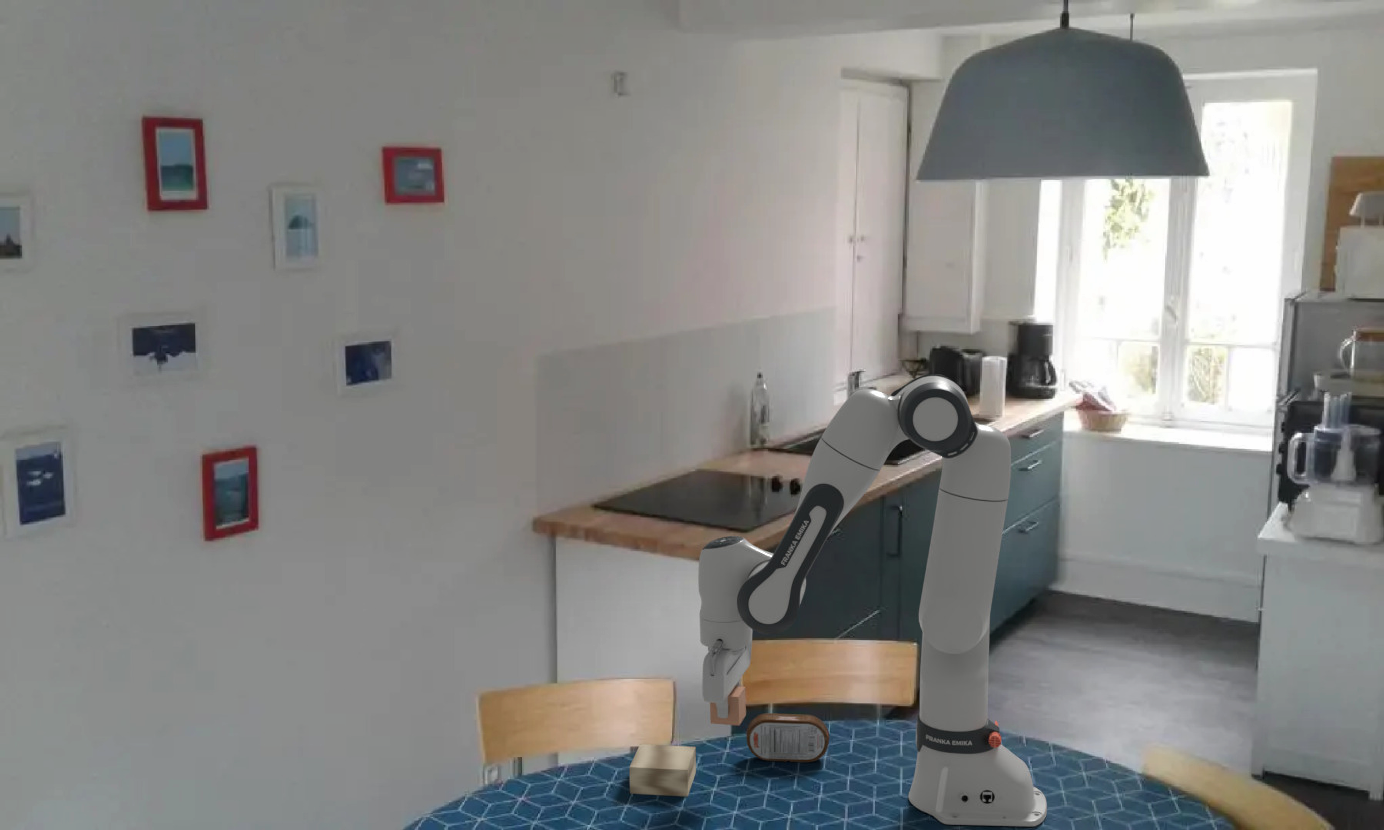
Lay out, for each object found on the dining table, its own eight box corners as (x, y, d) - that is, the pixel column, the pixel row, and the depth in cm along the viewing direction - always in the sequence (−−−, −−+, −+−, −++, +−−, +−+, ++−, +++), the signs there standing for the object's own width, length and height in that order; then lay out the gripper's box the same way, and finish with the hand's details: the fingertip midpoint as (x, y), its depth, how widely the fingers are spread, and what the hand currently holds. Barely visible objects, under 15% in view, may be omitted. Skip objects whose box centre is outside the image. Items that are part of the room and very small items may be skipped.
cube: (745, 714, 219) (745, 687, 218) (739, 725, 214) (738, 697, 213) (717, 712, 220) (717, 685, 219) (710, 723, 215) (709, 695, 215)
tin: (829, 757, 231) (829, 713, 230) (829, 764, 228) (829, 720, 227) (746, 755, 232) (746, 711, 231) (745, 762, 229) (745, 717, 228)
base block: (695, 773, 225) (695, 746, 224) (687, 798, 215) (687, 770, 215) (640, 770, 226) (640, 744, 226) (629, 794, 217) (629, 767, 216)
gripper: (729, 651, 204) (731, 733, 206) (757, 615, 224) (759, 690, 226) (691, 649, 206) (694, 731, 208) (722, 614, 226) (724, 688, 227)
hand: (728, 709), depth 217 cm, fingers closed on cube, 5 cm apart
